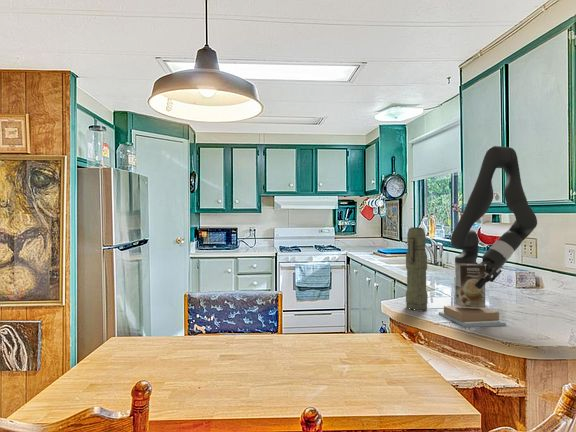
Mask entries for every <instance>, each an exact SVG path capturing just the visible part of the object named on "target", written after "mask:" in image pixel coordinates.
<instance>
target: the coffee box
mask: <svg viewBox="0 0 576 432" xmlns="http://www.w3.org/2000/svg"><path fill="white" fill-rule="evenodd" d="M484 274H485V265H482V264H480V263H478V264H463V263H456V289H455V297H454V298H455V301H454V303H455V304H456V306H460V307H476V308H485V307H486V284H485V285H484V286H483V287H482V288H481V289H478V288H477V287H476V286H475V285H476V283H477V282H478V281H479V280H480V279H481V278H482V276H483V275H484ZM482 279H483V278H482Z"/></svg>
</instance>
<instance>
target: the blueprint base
mask: <svg viewBox="0 0 576 432" xmlns="http://www.w3.org/2000/svg"><path fill="white" fill-rule="evenodd" d="M439 314H440V316H441V315H442V316H441V317H443V316H444V318H446V319H447V320H450V321H452V322H453V323H456V324H458V325H460V326H462V327H464V328H473V327H474V328H476V327H494V326H495V327H497V326H498V327H499V326H500V327H501V326H507V322H505V321H504V320H501V319H500V312H499V311H497V310H494V309H491V308H489V307H486V306H485V308H476V307H460V306H458V305H443V311H438V315H439Z"/></svg>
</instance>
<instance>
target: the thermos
mask: <svg viewBox="0 0 576 432" xmlns="http://www.w3.org/2000/svg"><path fill="white" fill-rule="evenodd" d="M426 235H427V234H426V231H425V228H422V227H418V226H415V227H413V226H412V227H410V228H408V230H407V238H406V241H407V243H406V244H407V249H406V250H407V251H406V254H405V267H406V279H407V280H406V292H405V303H406V305H405V306H406V307H407V308H410V309H415V310H414V311H417V310H423V311H426V309H427V310H428V302H429V301H428V292H427V269H428V255H427V251H426V245H427V244H426V241H427V239H426V238H427V236H426ZM407 308H406V309H407ZM410 309H409V310H410Z"/></svg>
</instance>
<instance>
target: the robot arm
mask: <svg viewBox="0 0 576 432" xmlns="http://www.w3.org/2000/svg"><path fill="white" fill-rule="evenodd" d="M517 155H518V154H517V152H516V150H515V149H514V148H513V147H510V146H501V145H500V146H499V145H492V146H490V147H489V148H488V149H487V150H486V152H485V153H484V157H483V159H482V162H481V166H480V169H479V172H478V176H477V178H476V181H475V183H474V186H473V188H472V191H471V193H470V196H469V197H468V200H467V203H466V206H465V208H464V210H463V212H462V215H461V217H460V218H459V220H458V222H457V225H456V226H455V228H454V229H453V232H452V234H451V236H450V243H451V245H452V247H453V248H454V249H457V250H462V252H461V253H460V254H458V255H456V256H455V257H454V277H453V278H454V279H453V280H454V281H453V282H454V283H453V285H454V287H453V290H454V291H453V293H454V295H453V296H454V298H455V289H456V263H463V264H482V265H485V274H484V275H483V276H482V278H483V279H482V278H481V279H480V280H479V281H478V282H477V283H476V285H475V286H476V287H477V288H478V289H481V288H482V287H483V286H484V285H485V286H486V284H487V283H489V282H490V283H493V282H494V281H495V280H496V279H497V277H498V276H499V275H500V274H501V273H502V272H503V270H502V267H504V265H505V264H506V263H507V262H508V260H510V258H512V255H513V254H514V252H516V250H517V249H518V248H519V247H520V245H521V244H522V242H524V240H525V239H527V237H529V235H531V233H533V231H534V230H535V229H536V227H537V225H538V218H537V216H536V213H535V212H534V210H533V209H532V207H531V206H530V204H529V201H528V199H527V197H526V194H525V191H524V189H523V184H522V179H521V172H520V166H519V160H518V159H519V158H518V156H517ZM497 169H503V170H504V172H505V176H506V183H505V187H504V191H503V193H504V199H505V202H506V205H507V209H508V210H509V212H510V213H513V214H514V217H515V220H514V222H513V223H512V224H511V226H510V227H509V228H508V229H507V231H506V232H504V233H502V235H501V236H500V237H499V238H498V239H497V240H496V241H495V242H494V243H493V244H492V245H491V246H490V247H489V248H488V249H487V251H486V252H485V253H484V254H483V255H482V257H481V259H482V261H481V262H479V263H478V262H477V259H478V257H479V255H478V254H479V236H478V234H477V231H475V230H473V229H472V227H473V226H474V225H475V224H476V222H478V221H479V220H480V219H482V217H483V216H484V215H485V214H486V213H487V212H488V210H489V208H490V207H491V204H492V202H493V199H494V194H495V193H494V189H493V184H492V183H493V181H492V180H493V177H494V174H495V171H496V170H497Z"/></svg>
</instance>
